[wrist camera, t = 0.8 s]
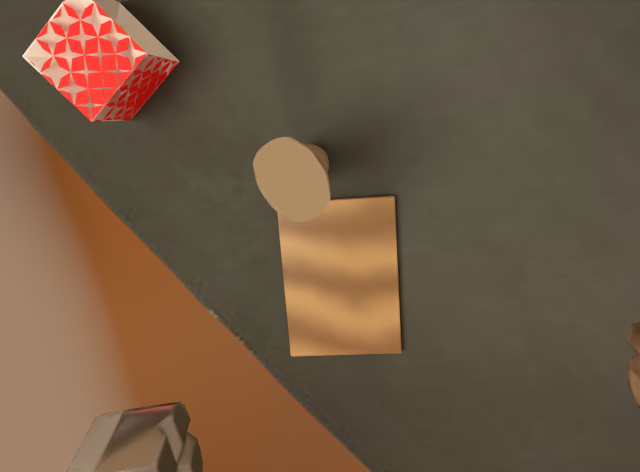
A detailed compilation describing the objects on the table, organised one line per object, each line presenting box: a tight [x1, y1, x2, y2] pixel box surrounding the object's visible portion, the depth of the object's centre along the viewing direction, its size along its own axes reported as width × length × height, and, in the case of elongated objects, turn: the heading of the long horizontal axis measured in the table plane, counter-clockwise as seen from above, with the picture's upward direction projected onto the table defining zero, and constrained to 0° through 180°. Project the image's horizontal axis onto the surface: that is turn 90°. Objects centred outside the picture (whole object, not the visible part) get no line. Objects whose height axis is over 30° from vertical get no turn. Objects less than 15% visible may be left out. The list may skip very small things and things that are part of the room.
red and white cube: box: [22, 0, 180, 122], centre depth 49 cm, size 8×8×8 cm
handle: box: [253, 137, 331, 222], centre depth 46 cm, size 5×6×15 cm
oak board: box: [277, 195, 401, 356], centre depth 55 cm, size 17×12×1 cm
